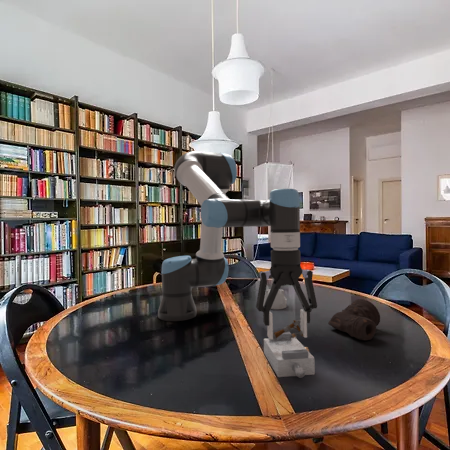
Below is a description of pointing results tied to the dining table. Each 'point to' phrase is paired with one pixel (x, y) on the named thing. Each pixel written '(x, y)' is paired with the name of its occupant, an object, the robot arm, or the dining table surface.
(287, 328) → the wooden post with brackets
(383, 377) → the dining table surface
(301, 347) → the machine vise
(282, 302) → the engine component
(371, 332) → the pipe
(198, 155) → the robot arm
